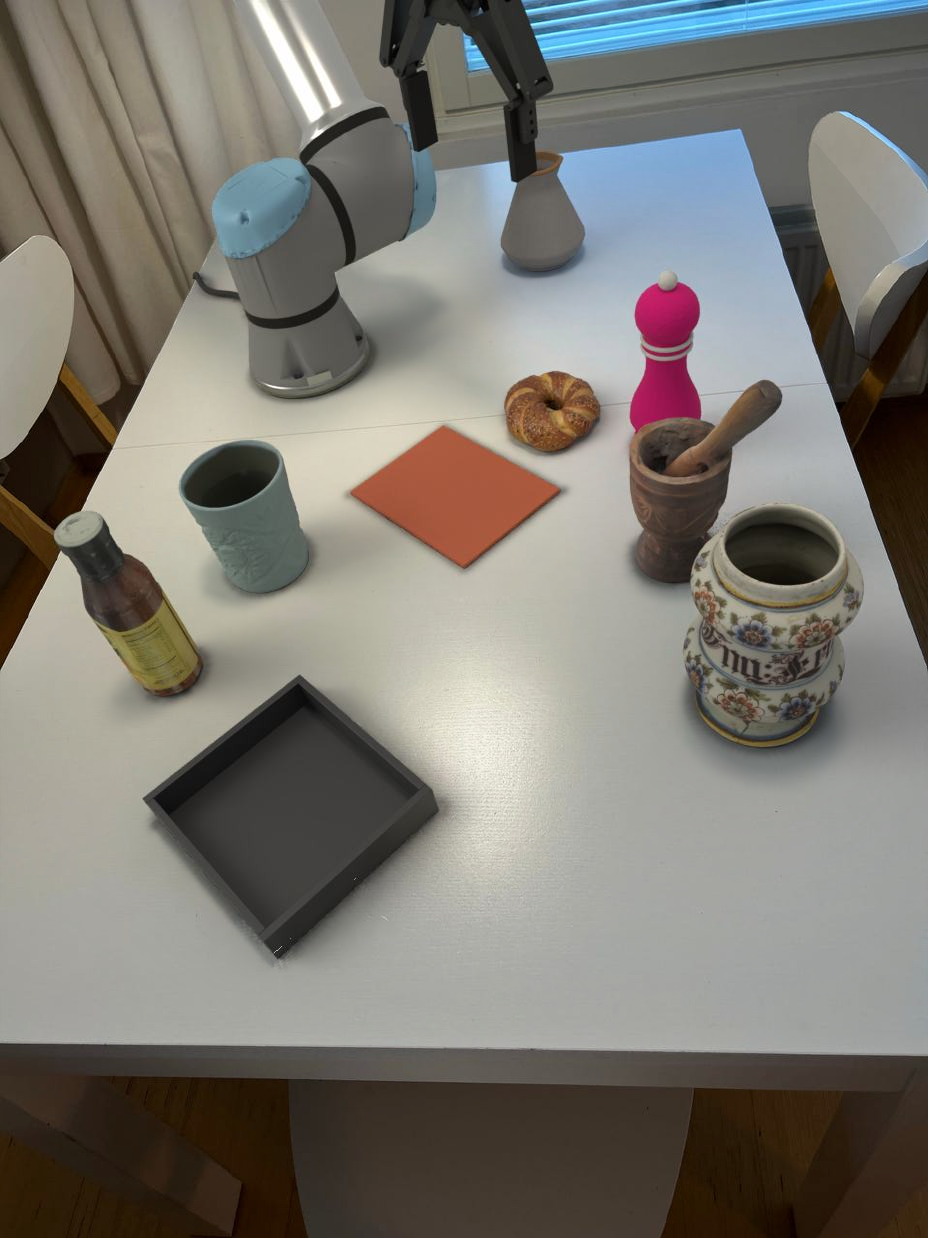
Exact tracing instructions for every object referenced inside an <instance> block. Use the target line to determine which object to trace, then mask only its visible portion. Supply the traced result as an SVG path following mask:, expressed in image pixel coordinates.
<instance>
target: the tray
mask: <svg viewBox="0 0 928 1238" xmlns="http://www.w3.org/2000/svg"><path fill="white" fill-rule="evenodd" d="M142 801H143V802H144V803H145V804H146V806H147V807H148V809H150V811H151V812H152V813H153V815H154V816H155V817H156V818H157V819H158V820H159V822H160V823H161V824H162V826H164V828H165V829H166V830H167V831H168V833H169V834H170V835H171V836H172V837H173V838H174V839H175V841H176V842H177V843H178V844H179V845H180V847H181V848H182V849H183V850H184V851H185V852H186V853H187V855H188V856H189V857H190V859H192V861H193V862H194V863H195V864H196V865H197V866H198V868H199V869H200V870H201V871H202V872H203V874H204V875H205V876H206V877H207V878H208V879H209V880H210V882H211V883H212V884H213V886H214V887H215V888H216V889H217V890H218V891H219V892H220V894H221V895H222V897H224V898H225V899H226V901H227V902H228V903H229V904H230V906H232V908H233V909H234V910H235V912H236V913H237V914H238V915H239V916H240V917H241V919H243V920H244V921H245V923H246V924H247V925H248V926H249V928H250V929H251V930H252V931H253V932H254V934H255V935H256V936H257V937H258V936H259V937H258V938H259V939H260V941H261V942H262V943H263V944H264V946H266V947H267V949H268V950H269V951H270V952H271V953H272V955H273V956H274V957H275V958H276V959H277V960H279V959H280V958H281V957H282V956H283V955H284V954H285V953H286V952H287V951H288V950H289V949H290V948H291V947H292V946H294V945H295V944H296V943H297V942H298V941H299V940H300V939H301V938H302V937H304V935H306V934H307V933H308V932H309V931H310V930H311V929H312V928H313V927H314V926H315V925H316V924H318V922H320V921H321V920H322V919H323V918H324V917H325V916H326V915H327V914H328V913H329V912H330V911H331V910H333V908H335V907H336V906H337V905H338V904H340V902H342V900H344V898H345V897H347V896H348V895H349V894H350V893H351V892H352V891H353V890H354V889H355V888H357V887H358V885H359V884H361V883H362V882H363V881H364V880H365V879H366V878H367V877H369V876H370V875H371V873H373V872H374V871H375V870H376V869H377V868H378V867H379V866H380V865H381V864H382V863H384V862H385V861H386V860H387V859H388V858H389V857H390V856H391V855H392V854H393V853H394V852H395V851H396V850H397V849H398V848H400V847H401V846H402V845H403V844H404V843H405V842H406V841H408V839H410V838H411V836H413V835H414V834H415V833H416V832H417V831H418V830H419V829H420V828H421V827H423V825H425V824H426V822H428V821H430V819H431V818H432V817H433V816H434V815H436V813H438V811H439V810H440V809H439V806H438V803H437V801H436V797H435V794H434V791H433V789H432V787H431V786H429V785H428V784H427V783H426V782H425V781H423V779H422V778H420V777H419V776H418V775H417V774H416V773H415V772H413V771H412V770H411V769H410V768H408V767H407V766H406V765H405V764H404V763H403V762H401V761H400V760H399V759H398V758H397V757H396V756H395V755H393V754H392V752H390V751H389V750H387V748H386V747H384V746H383V745H382V744H381V743H380V742H379V741H377V739H375V738H374V737H373V736H371V735H370V734H369V732H367V731H366V730H365V729H363V727H361V726H360V725H359V724H358V723H357V722H356V721H354V720H353V719H352V718H351V717H350V716H349V715H347V714H346V713H345V712H344V711H343V710H342V709H341V708H339V707H338V706H337V705H336V704H335V703H333V702H332V700H330V699H329V698H328V697H327V696H326V695H324V694H323V693H322V692H321V691H320V690H319V689H318V688H316V687H315V686H314V685H313V684H311V683H310V682H309V681H308V680H307V679H306V678H305V677H303V675H301V674H298V675H297V676H296V677H294V678H293V679H292V680H290V681H289V682H288V683H287V684H285V685H283V687H281V688H280V689H279V690H277V691H276V692H275V693H274V694H273V695H271V696H270V697H268V699H266V700H265V701H264V702H262V703H261V704H260V705H258V706H257V707H256V708H254V709H253V710H252V711H251V712H250V713H248V714H247V715H246V716H245V717H243V718H242V719H241V720H239V721H238V722H237V723H236V724H234V725H233V726H232V727H231V728H229V729H228V730H227V731H225V732H224V733H223V734H222V735H221V736H219V737H218V738H217V739H215V740H214V741H213V742H212V743H210V744H209V745H208V746H207V747H206V748H204V749H203V750H201V751H200V752H199V753H197V754H196V755H195V756H194V757H193V758H191V759H190V760H189V761H187V762H186V763H185V764H183V765H182V766H181V767H180V768H179V769H177V770H176V771H175V772H173V774H171V775H170V776H169V777H167V778H166V779H165V780H163V781H162V782H161V783H159V784H158V785H157V786H156V787H155V788H153V789H152V790H151V791H150V792H148V793H147V794H146V795H145V796H143V797H142ZM355 878H356V879H355ZM354 879H355V880H354ZM290 938H291V939H290ZM281 946H282V947H281ZM280 947H281V948H280ZM279 948H280V949H279ZM278 949H279V950H278ZM276 950H278V951H276ZM275 951H276V952H275ZM274 952H275V953H274ZM273 953H274V954H273Z"/></svg>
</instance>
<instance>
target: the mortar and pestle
mask: <svg viewBox="0 0 928 1238" xmlns="http://www.w3.org/2000/svg"><path fill="white" fill-rule="evenodd" d="M782 402H783V392H782V390H781V388H780V387H779V386H778V385H777V384H776V383H775V382H773V381H772V380H770V379H761V380H758V381H756V382H755V383H753V384H751V385H750V386H748V387H747V389H745V390H744V391H743V392H742V393H741V395H740V396H739V397H738V398H737V399H736V400H735V402H734V403H733V404H732V405H731V406H730V407H729V409H728V411H727V412H726V413H725V415H724V416H723V418H722V419H721V420H720V421H719V422H718V424H717V425H714V424H713V423H711V422H709V421H706V420H702V419H701V418H700V419H695V418H688V417H680V418H669V419H663V420H661V421H660V420H658V421H656V422H653V423H651V424H646V425H645V426H643V427H642V428H641V429H640V430H639V432H638V433H636V434H635V433H634V436H633V438H632V439H631V442H630V443H629V452H628V453H629V455H628V457H629V458H628V462H629V477H628V478H629V493H630V498H631V504H632V507H633V510H634V514H635V516H636V519H637V522H638V523H639V524H640V526H641V527H642V529H643V530H642V531H641V533H640V535H639V536H638V539H637V542H636V545H635V550H634V556H635V559H636V563H637V565H638V566H639V569H640V570H641V571H642V572H643V573H644V574H645V575H646V576H648V577H650V578H652V579H653V580H656V581H660V582H664V583H679V582H680V583H682V582H689V581H691V572H692V567H693V564H694V561H695V559H696V557H697V555H698V553H699V552H700V550H701V549H702V548H703V546H704V545H705V544H706V543H707V542H708V541H709V540H710V539H711V538H712V537H711V536H710V534H709V533H708V531H710V530H711V529H712V527H714V526H713V525H715V523H716V521H717V519H718V517H719V514H720V512H719V511H720V510H721V508H722V507H723V505H724V504H725V503H726V502H725V501H726V498H727V494H728V487H729V481H730V473H731V469H732V468H731V467H732V459H733V452H734V451H733V447H734V446H736V444H738V443H739V442H741V441H742V440H743V439H744V438H745V437H747V436H749V434H751V433H752V432H754V431H755V430H757V429H758V428H760V427H761V426H762V425H763V424H764V423H765V422H767V421H768V420H769V419H770V418H771V417H772V416H773V415H774V414H775V413H776V412H777V411H778V410H779V409H780V407H781V405H782Z"/></svg>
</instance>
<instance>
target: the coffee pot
mask: <svg viewBox="0 0 928 1238" xmlns="http://www.w3.org/2000/svg"><path fill="white" fill-rule="evenodd" d="M563 161H564V156H563V155H561V154H558V153H556V152H553V151H549V150H536V162H537V171H536V172H535V173H533V174H531V175H530V176H528V177H526V178H525V179H523V180H521V181H520V182H518V183H516V185H515V188H514V192H513V195H512V198H511V202H510V205H509V209H508V212H507V215H506V219H505V222H504V225H503V229H502V232H501V236H500V239H499V240H500V241H499V242H500V248H501V249H502V251H503V252H504V255H505V256H506V257H507V258H508V259H509V260H510V261H512V262H513V263H514V264H516V265H518V266H519V267H520V268H522V269H523V270H527V271H532V272H545V271H551V270H554V269H558V268H560V267H562V266H564V265H566V264H567V263H568V262H570V260H571V259H572V258H573V257H574V256H575V255H576V254H577V252H578V251H579V250H580V249H581V248H582V245H583V243H584V240H585V238H586V230H585V229H586V228H585V226H584V224H583V222H582V220H581V218H580V216H579V215H578V212H577V211H576V208H575V207H574V205H573V202H572V200H571V199H570V197H569V195H568V193H567V191H566V189H565V188H564V186H563V183H562V181H561V179H560V178H559V176H558V174H559V170H560V167H561V166H562V163H563Z"/></svg>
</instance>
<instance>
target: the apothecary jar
mask: <svg viewBox="0 0 928 1238" xmlns="http://www.w3.org/2000/svg"><path fill="white" fill-rule="evenodd" d="M863 577H864V576H863V574H862V570H861V568H860V565H859V563H858V561H857V559H856V557H855V556H854V555H853V553H852V552H851V551H850V550H849V548H848V547H847V546H846V542H845V540H844V537H843V535H842V534H841V532H840V531H839V529H838V528H837V526H836V524H835V525H834V523H833V522H832V521H831V520H829V519H828V518H827V517H826V516H825V515H824V514H821V513H820V512H818V511H817V510H814V509H812V508H809V507H806V506H803V505H799V504H794V503H788V502H787V503H785V502H770V503H764V504H758V505H755V506H752V507H749V508H745V509H744V510H742V511H739V512H738V513H736V514H735V515H733V516H732V517H731V518H730V519H729V520H728V521H727V522H726V523H725V524H724V526H723V527H722V529H721V530H720V531H719V532H718V533H716V534H714V535H713V536H712V537H711V539H710V540H709V541H708V542H707V543H706V544H705V545H704V546H703V548H702V549H701V550H700V552H699V553H698V555H697V557H696V559H695V561H694V564H693V567H692V572H691V580H690V592H691V596H692V600H693V602H694V605H695V607H696V609H697V611H698V612H699V613H698V614H697V616H696V617H695V618H694V619H693V621H692V622H691V624H690V625H689V627H688V629H687V631H686V634H685V637H684V640H683V646H682V647H683V648H682V659H683V664H684V668H685V671H686V674H687V676H688V678H689V680H690V682H691V683H692V685H693V687H694V699H695V704H696V705H695V706H696V708H697V711H698V712H699V715H701V718H702V719H703V720H704V722H705V723H706V724H707V725H708V726H709V727H710V728H711V729H712V730H714V732H716V733H718V734H719V735H721V736H722V737H723V738H725V739H727V740H729V741H732V742H734V743H737V744H740V745H743V746H748V747H755V748H771V747H777V746H781V745H785V744H789V743H792V742H794V741H795V740H797V739H798V738H801V737H802V736H803V735H805V734H806V733H807V732H808V731H809V730H810V729H811V728H812V726H813V725H814V723H815V722H816V720H817V718H818V715H819V712H820V708H822V707H823V706H824V705H825V704H826V703H828V701H829V700H830V699H831V698H832V697H833V696H834V695H835V693H836V691H837V690H838V688H839V686H840V684H841V682H842V680H843V677H844V671H845V665H846V664H845V661H846V660H845V659H846V658H845V651H844V646H843V642H842V640H841V637H840V636H839V635H840V634H842V633H843V632H844V631H845V630H846V629H847V628H848V627H849V626H850V625H851V623H852V622H853V621H855V618H856V617H857V615H858V614H859V611H860V609H861V607H862V604H863V599H864V592H865V591H864V590H865V584H864V578H863Z"/></svg>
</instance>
